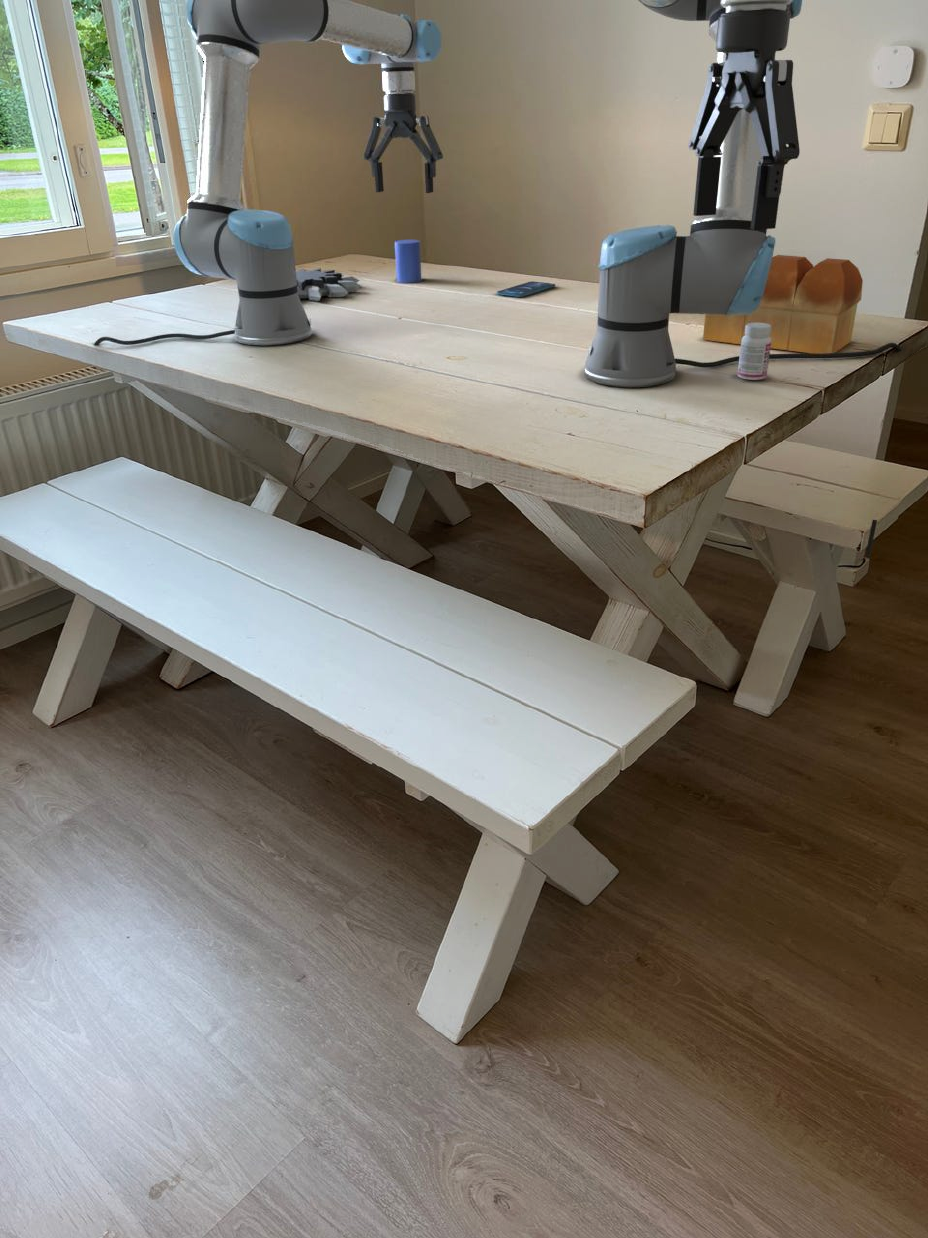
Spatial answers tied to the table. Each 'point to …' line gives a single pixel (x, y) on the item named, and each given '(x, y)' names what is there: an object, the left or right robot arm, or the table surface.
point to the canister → (408, 261)
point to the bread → (799, 306)
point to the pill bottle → (755, 351)
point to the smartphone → (525, 289)
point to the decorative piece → (324, 284)
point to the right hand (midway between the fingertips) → (732, 221)
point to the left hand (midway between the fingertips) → (404, 192)
